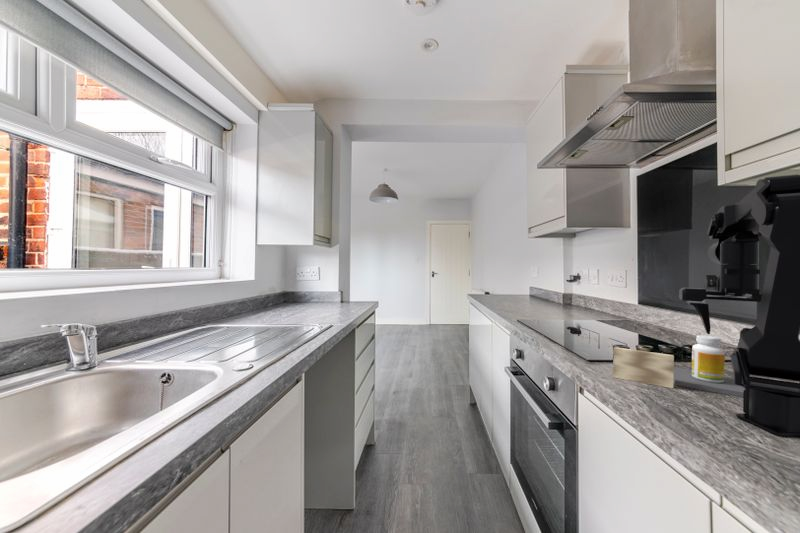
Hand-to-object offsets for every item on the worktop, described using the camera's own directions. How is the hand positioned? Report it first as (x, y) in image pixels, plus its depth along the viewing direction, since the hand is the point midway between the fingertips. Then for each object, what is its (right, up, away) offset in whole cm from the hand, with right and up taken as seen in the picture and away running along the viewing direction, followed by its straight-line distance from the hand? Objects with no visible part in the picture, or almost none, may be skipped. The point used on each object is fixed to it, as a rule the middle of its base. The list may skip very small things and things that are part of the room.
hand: (737, 336), depth 68 cm
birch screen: (-17, -12, +5) cm, 21 cm away
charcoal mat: (-2, -12, +5) cm, 13 cm away
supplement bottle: (-2, -11, +4) cm, 12 cm away
